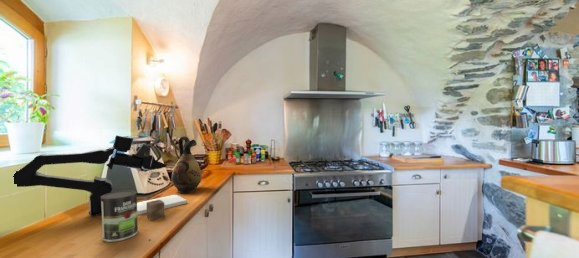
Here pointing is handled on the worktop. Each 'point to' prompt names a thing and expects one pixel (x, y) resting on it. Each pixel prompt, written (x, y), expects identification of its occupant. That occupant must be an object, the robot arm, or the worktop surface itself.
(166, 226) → the worktop surface
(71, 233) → the worktop surface
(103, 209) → the coffee can
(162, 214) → the walnut block
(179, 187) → the ceramic jug
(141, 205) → the chopping board
